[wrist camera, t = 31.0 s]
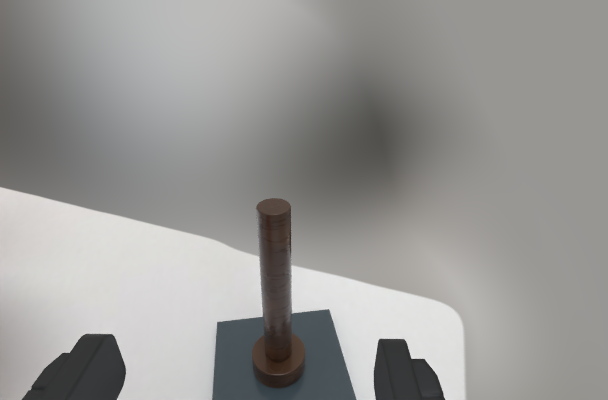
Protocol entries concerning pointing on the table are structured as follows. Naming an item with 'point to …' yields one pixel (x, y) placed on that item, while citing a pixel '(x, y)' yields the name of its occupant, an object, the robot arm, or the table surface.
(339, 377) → the square plate
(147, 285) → the table surface
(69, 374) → the robot arm
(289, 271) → the stirrer
